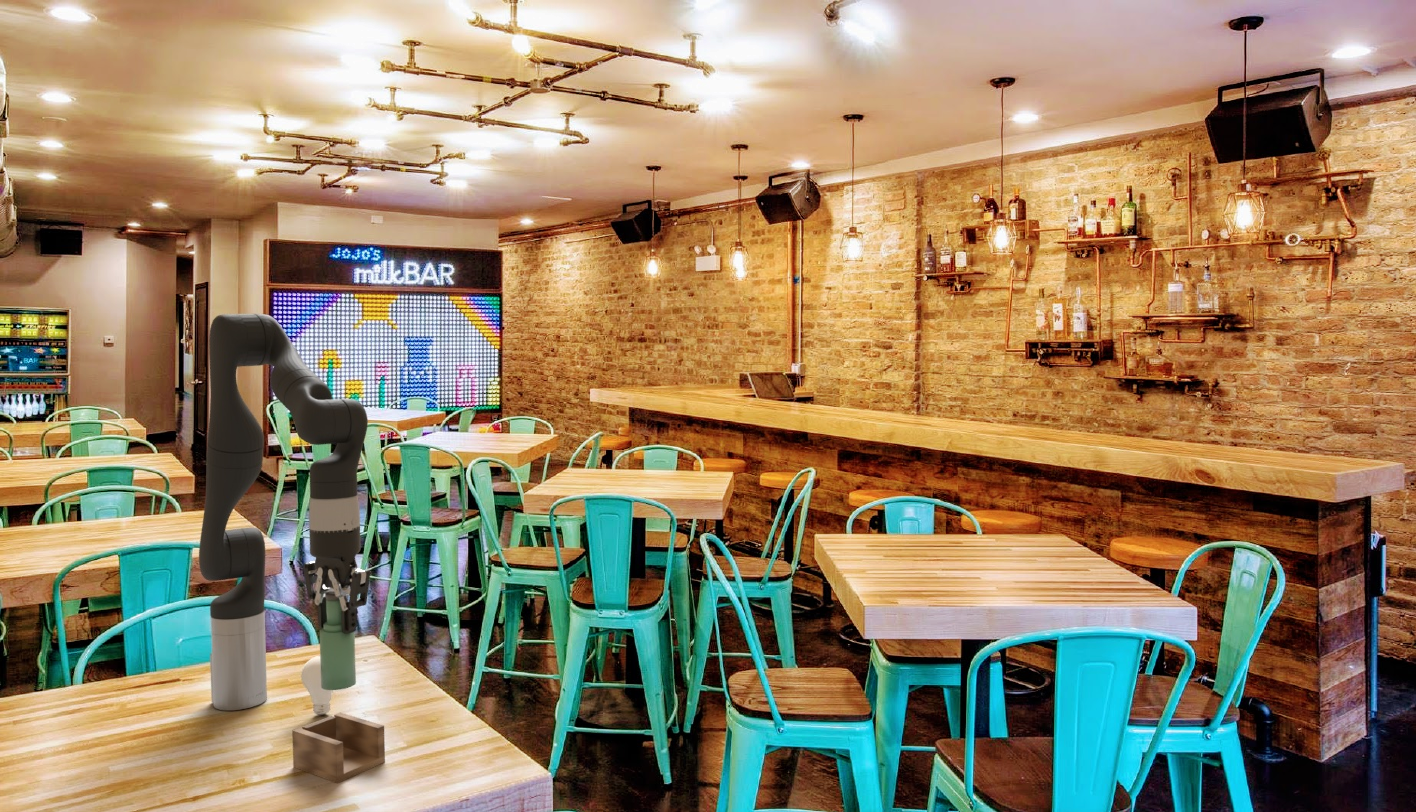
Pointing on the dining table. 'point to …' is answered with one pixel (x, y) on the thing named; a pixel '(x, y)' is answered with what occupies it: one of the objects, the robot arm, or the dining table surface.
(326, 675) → the bottle
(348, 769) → the brown open-sided frame
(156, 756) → the dining table surface
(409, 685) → the dining table surface
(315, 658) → the light bulb
